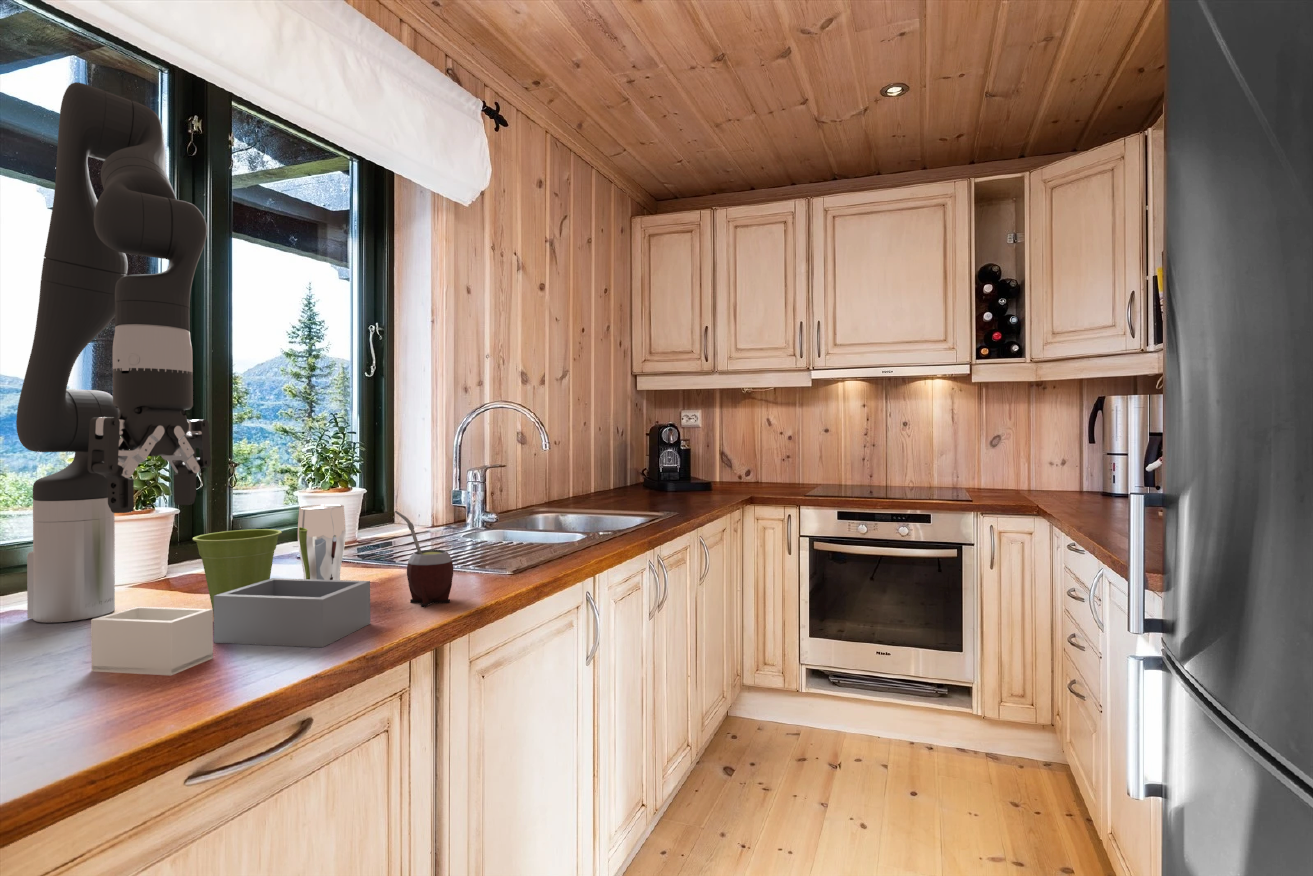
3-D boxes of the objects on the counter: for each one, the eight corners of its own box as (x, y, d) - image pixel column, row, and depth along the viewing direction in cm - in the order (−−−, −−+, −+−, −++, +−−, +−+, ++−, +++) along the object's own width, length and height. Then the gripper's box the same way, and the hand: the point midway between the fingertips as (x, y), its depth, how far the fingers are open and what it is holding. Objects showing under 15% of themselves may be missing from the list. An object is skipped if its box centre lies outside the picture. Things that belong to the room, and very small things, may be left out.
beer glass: (326, 605, 108) (326, 509, 108) (287, 603, 110) (287, 508, 110) (354, 595, 115) (354, 504, 115) (317, 593, 117) (317, 504, 116)
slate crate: (322, 647, 87) (322, 599, 87) (213, 642, 89) (213, 595, 89) (370, 623, 98) (370, 581, 98) (272, 620, 100) (272, 578, 100)
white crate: (171, 676, 77) (171, 622, 77) (91, 672, 78) (91, 619, 78) (212, 659, 83) (212, 609, 83) (138, 656, 84) (137, 606, 84)
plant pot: (245, 595, 115) (244, 527, 115) (299, 601, 111) (299, 530, 111) (173, 612, 104) (173, 537, 104) (231, 619, 100) (230, 541, 100)
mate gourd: (459, 597, 114) (458, 505, 114) (442, 609, 106) (442, 511, 106) (413, 597, 114) (413, 505, 114) (394, 609, 106) (394, 510, 106)
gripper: (174, 374, 88) (175, 502, 88) (65, 362, 74) (66, 515, 74) (228, 373, 87) (229, 503, 87) (128, 361, 73) (129, 516, 73)
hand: (154, 508), depth 81 cm, fingers open, 8 cm apart
